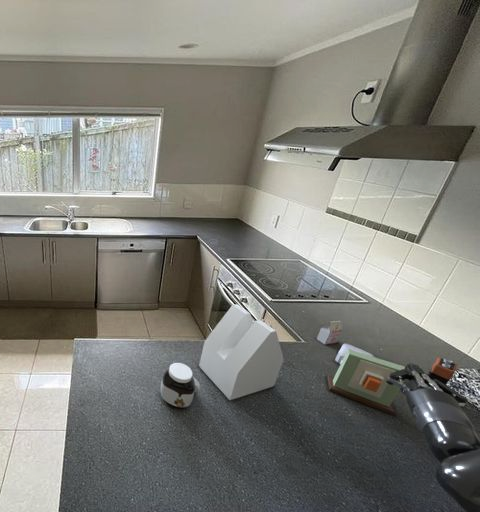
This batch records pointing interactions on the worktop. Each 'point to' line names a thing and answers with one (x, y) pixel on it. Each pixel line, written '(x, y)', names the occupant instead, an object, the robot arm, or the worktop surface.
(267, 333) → the white grooved wedge block
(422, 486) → the worktop surface
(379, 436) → the worktop surface
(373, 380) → the switch
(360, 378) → the wall panel
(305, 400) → the worktop surface
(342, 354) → the charger
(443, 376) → the battery
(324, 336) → the small printed carton
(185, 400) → the spread jar
